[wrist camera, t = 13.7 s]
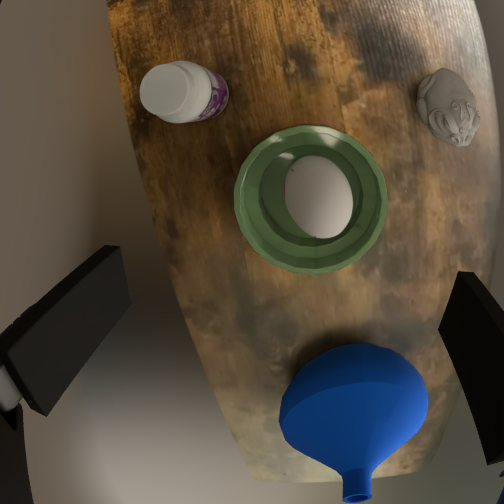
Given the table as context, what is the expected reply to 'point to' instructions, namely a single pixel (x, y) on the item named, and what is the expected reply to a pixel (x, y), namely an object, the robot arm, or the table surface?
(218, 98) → the pill bottle
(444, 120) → the frog figurine
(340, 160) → the green bowl
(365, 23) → the table surface
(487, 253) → the table surface
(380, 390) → the vase
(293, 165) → the stress ball
